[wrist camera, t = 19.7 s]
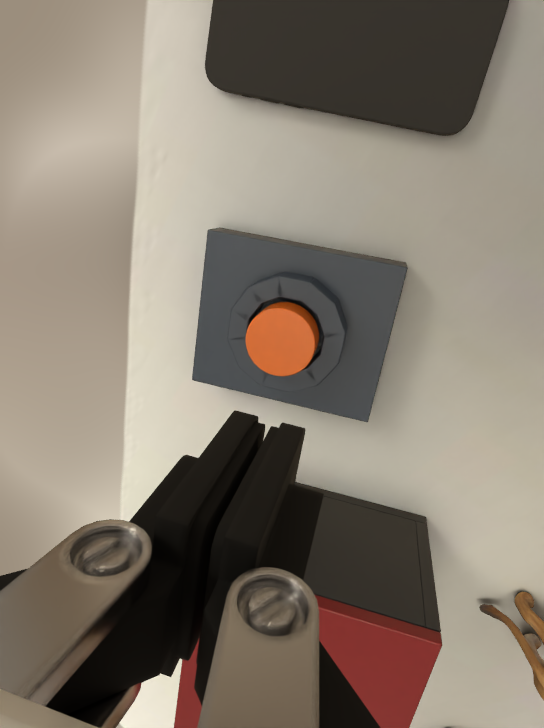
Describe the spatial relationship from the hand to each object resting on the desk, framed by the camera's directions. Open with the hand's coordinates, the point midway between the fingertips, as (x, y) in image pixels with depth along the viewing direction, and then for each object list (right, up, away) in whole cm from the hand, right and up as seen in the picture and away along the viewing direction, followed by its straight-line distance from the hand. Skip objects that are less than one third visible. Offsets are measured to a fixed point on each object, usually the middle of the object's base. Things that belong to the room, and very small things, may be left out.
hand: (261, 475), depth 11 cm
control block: (+2, +5, +21) cm, 21 cm away
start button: (+1, +4, +17) cm, 18 cm away
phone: (+4, +20, +15) cm, 25 cm away
